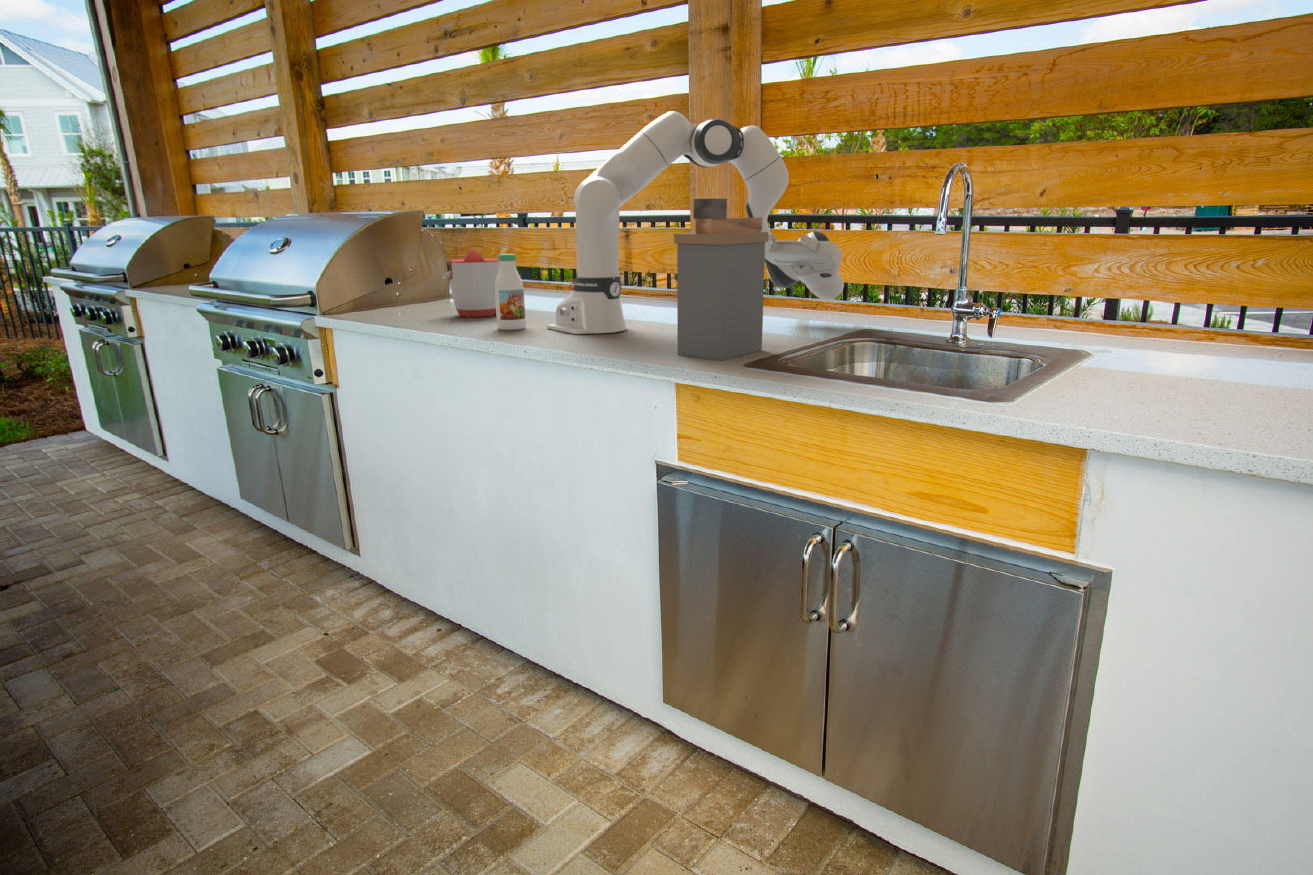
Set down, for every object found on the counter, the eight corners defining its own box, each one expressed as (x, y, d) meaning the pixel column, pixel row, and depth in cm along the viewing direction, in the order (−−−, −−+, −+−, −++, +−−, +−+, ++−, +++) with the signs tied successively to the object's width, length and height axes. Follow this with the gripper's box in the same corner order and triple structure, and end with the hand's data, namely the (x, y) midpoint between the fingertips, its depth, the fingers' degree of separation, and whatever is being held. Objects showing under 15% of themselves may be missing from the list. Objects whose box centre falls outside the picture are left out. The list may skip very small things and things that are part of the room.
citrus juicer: (445, 313, 243) (439, 249, 237) (500, 311, 248) (496, 247, 242) (447, 320, 228) (441, 251, 223) (506, 317, 233) (502, 250, 228)
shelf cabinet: (674, 354, 170) (674, 233, 163) (717, 344, 183) (719, 231, 175) (722, 361, 162) (724, 234, 155) (764, 349, 175) (768, 232, 167)
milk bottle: (491, 330, 208) (486, 254, 203) (507, 326, 215) (502, 253, 210) (516, 331, 206) (511, 255, 200) (531, 327, 212) (526, 253, 207)
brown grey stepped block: (693, 233, 161) (693, 199, 159) (744, 231, 176) (745, 199, 174) (712, 234, 158) (713, 198, 156) (763, 231, 173) (764, 199, 171)
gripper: (777, 251, 203) (753, 225, 193) (848, 253, 191) (827, 225, 180) (770, 273, 203) (746, 248, 192) (841, 276, 190) (820, 250, 179)
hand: (786, 237), depth 186 cm, fingers open, 8 cm apart
